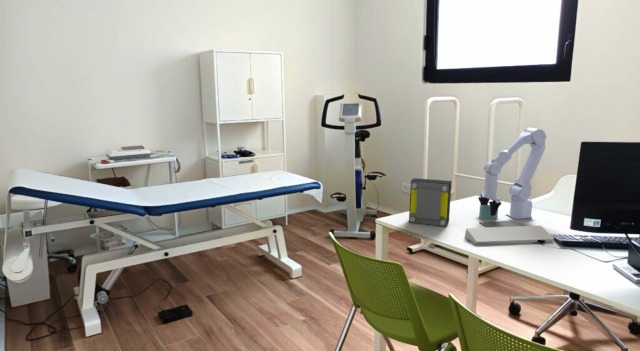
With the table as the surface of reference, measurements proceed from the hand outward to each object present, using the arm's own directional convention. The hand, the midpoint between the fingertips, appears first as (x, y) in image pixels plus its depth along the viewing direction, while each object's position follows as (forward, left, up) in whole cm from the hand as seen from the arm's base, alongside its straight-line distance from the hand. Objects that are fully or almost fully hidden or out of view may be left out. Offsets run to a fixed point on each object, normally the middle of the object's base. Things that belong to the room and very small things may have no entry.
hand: (488, 213), depth 226 cm
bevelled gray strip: (+11, +32, -3) cm, 34 cm away
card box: (0, 0, -2) cm, 2 cm away
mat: (+1, +15, -2) cm, 15 cm away
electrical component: (+33, +2, -2) cm, 33 cm away
